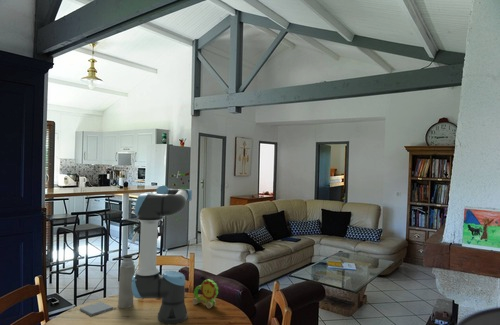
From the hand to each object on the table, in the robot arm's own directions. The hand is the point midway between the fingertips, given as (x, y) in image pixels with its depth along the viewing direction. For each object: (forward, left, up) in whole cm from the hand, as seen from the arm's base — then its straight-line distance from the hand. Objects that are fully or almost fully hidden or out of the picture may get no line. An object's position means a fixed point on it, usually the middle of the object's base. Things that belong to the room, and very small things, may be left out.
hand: (141, 243), depth 203 cm
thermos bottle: (-2, +11, -33) cm, 35 cm away
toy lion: (-37, -19, -33) cm, 53 cm away
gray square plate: (+4, +25, -33) cm, 41 cm away
